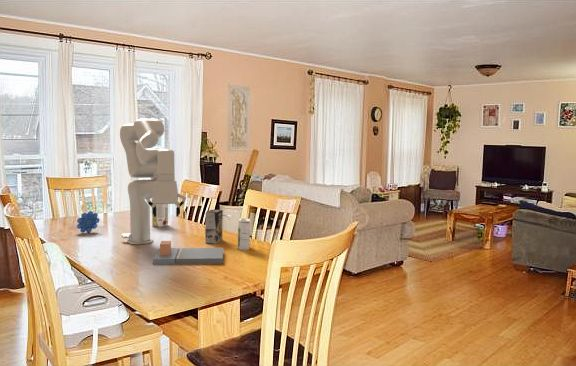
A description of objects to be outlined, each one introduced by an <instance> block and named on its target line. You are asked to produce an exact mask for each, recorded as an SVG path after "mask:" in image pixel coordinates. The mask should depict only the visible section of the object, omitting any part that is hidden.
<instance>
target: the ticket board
mask: <svg viewBox="0 0 576 366" xmlns="http://www.w3.org/2000/svg"><path fill="white" fill-rule="evenodd" d="M209 264H210V265H223V264H224V247H180V248H179V251H178V254H177V256H176V259H175V264H174V265H209Z"/></svg>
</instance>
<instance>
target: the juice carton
mask: <svg viewBox="0 0 576 366" xmlns="http://www.w3.org/2000/svg"><path fill="white" fill-rule="evenodd" d="M151 202H152V203H153V204H154V198H151ZM156 209H157V216H156V217H154V215H153V214H152V213H151V226H152V227H155V228H156V227H157V228H161V227H166V226H169V204H157V205H156Z"/></svg>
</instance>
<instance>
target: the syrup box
mask: <svg viewBox="0 0 576 366" xmlns="http://www.w3.org/2000/svg"><path fill="white" fill-rule="evenodd" d="M237 230H238V231H237V250H238V251H240V250H241V251H242V250H243V251H246V250H247V251H248V250H250V246H251V245H250V244H251V243H250V242H251V218H245V217H243V218H238V229H237Z"/></svg>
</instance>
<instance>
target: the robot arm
mask: <svg viewBox="0 0 576 366" xmlns="http://www.w3.org/2000/svg"><path fill="white" fill-rule="evenodd" d="M164 132H165V124H164V123H163V121H162V120H160V119H158V118H157V119H156V118H139V119H136V120H135V121H134V122H133V123H127V124H123V125H122V126H121V127H120V128H119V137H120V138H119V139H120V143H121V144H122V147H123V149H124V152H125V156H126V164H127V170H128V174H129V176H130V178H133V179H135V180H132V181H130V182H129V183H128V185H127V192H128V193H127V194H128V198H129V199H128V200H129V212H130V213H129V216H130V217H129V218H130V219H129V222H130V223H129V224H130V225H129V226H130V230H129V231H130V233H122V234H121V239H122V238H123V239H127V243H128V244H129V245H147V244H151V243H153V242H154V238H153V237H151V215H152V214H153V215H154V217H156V216H157V209H156V205H157V204H168V205H173V204H174V205H175V206H176V209H175V211H176V212H175V214H176V215H175V216H176V217H179V216H180V215H181V207H182V206H183V205H184V204H185V202H186V200H187V197H186V196H184V195H182V194H180V193H179V191H178V190H179V189H178V183H177V180H176V177H175V175H176V174H175V167H176V166H175V151H174V150H173V149H169V148H155V146H156V145H157V144H158V142H159V138H161V137H162V136H163V135H164ZM149 178H150V179H149ZM152 198H154V204H153V203H152ZM179 199H181V201H180V202H179ZM150 209H151V210H150Z"/></svg>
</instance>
